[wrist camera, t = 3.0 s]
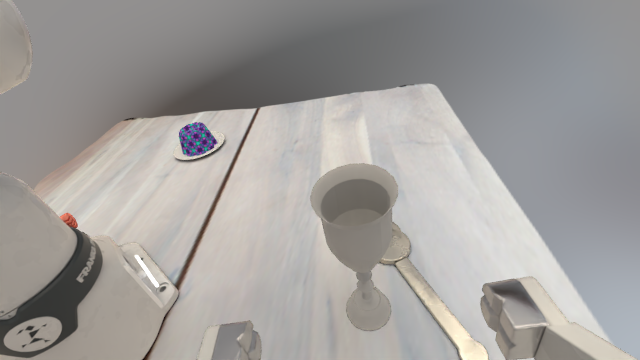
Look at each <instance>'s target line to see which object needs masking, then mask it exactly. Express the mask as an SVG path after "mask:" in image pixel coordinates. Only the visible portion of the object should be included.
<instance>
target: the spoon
mask: <svg viewBox="0 0 640 360" xmlns="http://www.w3.org/2000/svg"><path fill="white" fill-rule="evenodd" d="M409 254H410V241H409V239H408V237H407V236H406V235H405V234H404V233H403V232H401V230H400V228H399V227H398V225H396V224H395V223H394V222H392V239H391V242H390V244H389V247H388V248H387V250H386V252H385V254H384V256H383V257H382V259H381V260H380V261H379V262H381V263H383V264H390V265H391V264H395V266H396V267H397V269H398V270H399V272H400V273H401V274H402V276H403V277H404V278H405V280H406V281H407V282H408V284H409V285H410V286H411V288H412V289H413V290H414V292H415V293H416V294H417V296H418V297H419V298H420V300H421V301H422V302H423V304H424V305H425V306H426V308H427V309H428V310H429V312H430V313H431V314H432V316H433V317H434V318H435V320H436V321H437V323H438V324H439V325H440V327H441V328H442V329H443V331H444V332H445V333H446V335H447V336H448V337H449V339H450V340H451V341H452V343H453V344H454V345H455V347H456V348H457V349H458V355H459V358H460V360H489V356H488V352H487V350H486V349H485V347H484V346H483V345H482V344H481V343H479V342H478V341H475V340H473V338H472V337H471V336H470V335H469V333H468V332H467V331H466V330H465V329H464V327H463V326H462V325H461V324H460V322H459V321H458V320H457V319H456V317H455V316H454V315H453V314H452V312H451V311H450V310H449V309H448V307H447V306H446V305H445V304H444V303H443V301H442V300H441V299H440V298H439V296H438V295H437V294H436V293H435V291H434V290H433V289H432V288H431V286H430V285H429V284H428V283H427V281H426V280H425V279H424V278H423V276H422V275H421V274H420V273H419V272H418V270H417V269H416V268H415V267H414V265H413V264H412V263H411V262H410V260H409V259H408V258H407V257H408V256H409Z"/></svg>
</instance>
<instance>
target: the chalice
mask: <svg viewBox="0 0 640 360" xmlns="http://www.w3.org/2000/svg"><path fill="white" fill-rule="evenodd" d="M397 197H398V185H397V183H396V181H395V179H394V177H393V176H392V175H391V174H390V173H388V172H387V171H386V170H384V169H382V168H380V167H378V166H376V165H370V164H364V163H361V164H349V165H345V166H340V167H338V168H335V169H333V170H331V171H329V172H327V173H326V174H325V175H324V176H322V177H321V178H320V179H319V180H318V181H317V183H316V184H315V186H314V187H313V189H312V193H311V196H310V198H311V206H312V208H313V209H314V211H315V213H316V214H317V215H318V216H319V217H320V218H321V220H322V225H323V229H324V233H325V237H326V242H327V245H328V247H329V248H330V250H331V252H332V253H333V254H334V255H335V256H336V257H337V258H338V260H339V261H340V262H342V263H343V264H344V265H346V266H347V267H349V268H350V269H352V270H353V271H355V272H357V273H356V276H357V279H358V280H359V281H358V283H357V287H358V288H357V289H356V290H355V291H354V292H353V294H352V295H351V297H350V298H349V300H348V303H347V309H346V311H347V315H348V318H349V319H350V321H351V323H352V324H354V325H355V326H356V327H357V328H359V329H362V330H366V331H373V330H377V329H379V328H381V327H383V326H384V325H385V324H386V323H387V321H388V320H389V317H390V314H391V306H390V303H389V300H388V299H387V298H386V296H385V295H384V294H383V293H382V292H381V291H380V290H378V289H377V288H376V287H374V283H373V281H372V280H371V277H372V272H371V271H370V270H372V269H373V268H374V267H375V265H376V264H377V263H378V262H379V261H380V260H381V259H382V257H383V256H384V254H385V252H386V250H387V248H388V247H389V244H390V242H391V239H392V207H393V206H394V204H395V201H396V199H397Z"/></svg>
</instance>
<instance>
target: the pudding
mask: <svg viewBox="0 0 640 360" xmlns="http://www.w3.org/2000/svg"><path fill="white" fill-rule="evenodd" d="M179 138H180V144H179V145H178V146H177V147H176V148H175V150H174V153H173V154H174V156H175V157H176V158H178V159H181V160H190V159H196V158H199V157H202V156H205V155H207V154H209V153H211V152H213V151H215V150H216V149H217V148H219V147H220V146H221V145H222V143H223V142H224V139H225V137H224V135H223V134H222V133H220V132H215V131H209V130H208V129H207V127H206V126H205V125H204V124H203V123H197V122H196V123H192V124H188V125H186V126H185V127H183V128H182V129H181V130H180V132H179Z"/></svg>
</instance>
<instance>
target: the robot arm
mask: <svg viewBox="0 0 640 360" xmlns="http://www.w3.org/2000/svg"><path fill="white" fill-rule="evenodd" d="M32 55H33V52H32V43H31V39H30V35H29V32H28V29H27V26H26V24H25V22H24V20H23V18H22V16H21V14H20V12H19V10H18V9H17V7H16V6H15V4H14V3H13V1H12V0H0V95H1V94H2V93H4V92H6V91H8V90H10V89H11V88H13V87H15V86H17V85H18V84H20V83H22V82H24V81H25V80H27V78H28V76H29V73H30V71H31V65H32ZM77 227H78V224H77V222H76V220H75V218H74V217H73V216H72V215H71V214H69V213H65V214H64V215H62V216H60V217H59V216H58V215H57V214H56V213H55V212H54V211H53V210H52V209H51V208H50V207H49V206H48V205H47V204H46V203H45V202H44V201H43V200H42V199H41V198H40V197H39V196H38V195H37V194H36V193H35V192H34V191H33V190H32V189H31V188H30V187H29V186H28V185H27V184H26V183H25V182H23V181H21V180H19V179H18V178H16V177H13V176H11V175H8V174H6V173H2V172H0V360H142V359H143V358H144V357H145V355H146V354H147V352H148V351H149V349H150V348H151V346H152V344H153V343H154V341H155V339H156V337H157V334H158V332H159V329H160V327H161V324H162V321H163V319H164V317H165V315H166V313H167V312H168V310H169V309H170V308H171V306H172V305H173V304H174V302H175V301H176V299H177V297H178V294H179V292H178V289H177V288H176V287H175V286H174V285H173V283H172V282H171V281H170V280H169V279H168V278H167V276H166V275H165V274H164V273H163V272H162V270H161V269H160V268H159V267H158V266H157V265H156V263H155V262H154V261H153V260H152V259H151V257H150V256H149V255H148V254H147V253H146V251H145V250H144V249H143V248H142V247H141V246H140V245H139V244H138V243H136V242H133V243H127V244H123V245H120V246H118V245H117V244H116V243H115V242H114V241H113V240H112V239H111V238H110V237H109V236H95V237H91V238H90V237H89V236H88V235H87V234H85V233H84V232H81V231H79V230H78V229H76V228H77ZM164 290H165V291H164ZM482 291H483V293H484V296H483V297H482V298H481V303H480V305H481V310H482V314H483V316H484V319H485V321H486V323H487V325H488V327H490V328H491V329H492V330H494V331H495V332H497V333H496V339H495V340H496V342H497V344H498V346H499V348H500V350H501V352H502V354H503V355H504V357H505V359H506V360H517V359H526V358H534V359H535V360H638V359H636V358H634V357H633V356H631V355H629V354H627V353H626V352H624V351H622V350H621V349H619V348H617V347H616V346H614V345H612V344H611V343H609V342H607V341H606V340H604V339H602V338H601V337H599V336H597V335H595V334H594V333H592V332H590V331H589V330H587V329H585V328H584V327H582V326H580V325H579V324H577V323H575V322H573V323H570V322H569V321H568V320H567V319H566V317H565V316H564V315H563V313H562V312H561V311H560V309H559V308H558V307H557V306H556V304H555V303H554V302H553V300H552V299H551V298H550V297H549V295H548V294H547V293H546V291H545V290H544V289H543V288H542V286H541V285H540V284H539V282H538V281H537V280H536V279H535V278H533V277H530V276H529V277H523V278H517V279H509V280H503V281H497V282H491V283H486V284H484V285H483V288H482ZM261 351H262V350H261V340H260V336H259V334H258V332H256V331H254V330H253V324H252V322H251V321H250V320H249V321H243V322H236V323H230V324H221V325H215V326H209V327H208V328H207V329H206V331H205V333H204V337H203V340H202V343H201V347H200V350H199V354H198V357H197V360H261Z"/></svg>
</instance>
